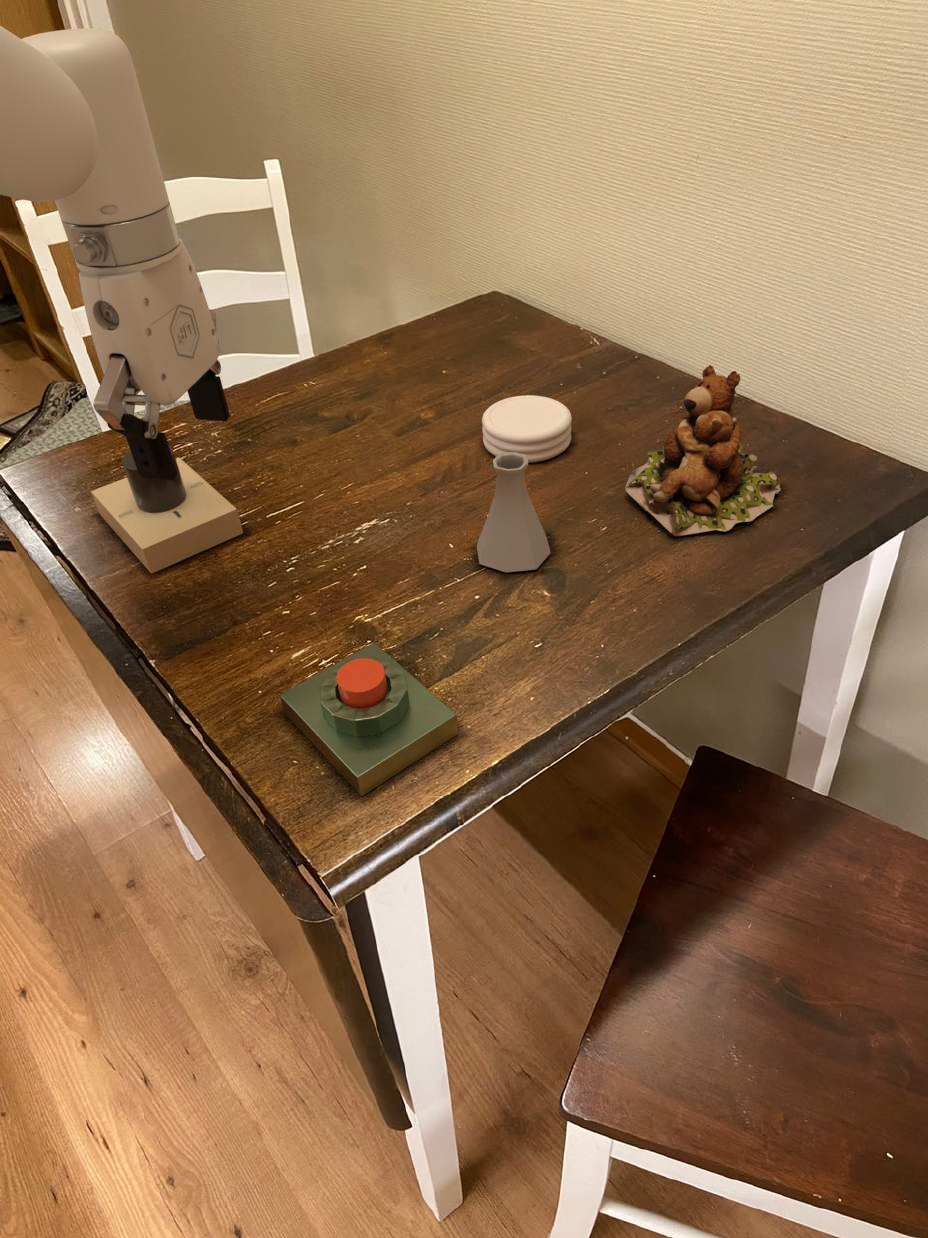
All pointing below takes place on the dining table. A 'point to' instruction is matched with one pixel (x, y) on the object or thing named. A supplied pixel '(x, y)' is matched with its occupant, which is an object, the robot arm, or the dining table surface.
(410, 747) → the button block
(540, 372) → the dining table surface
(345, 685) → the button
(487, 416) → the cream round flat cylinder
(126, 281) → the robot arm
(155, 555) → the panel
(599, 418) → the dining table surface
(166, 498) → the knob
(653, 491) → the bear figurine
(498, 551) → the flask
